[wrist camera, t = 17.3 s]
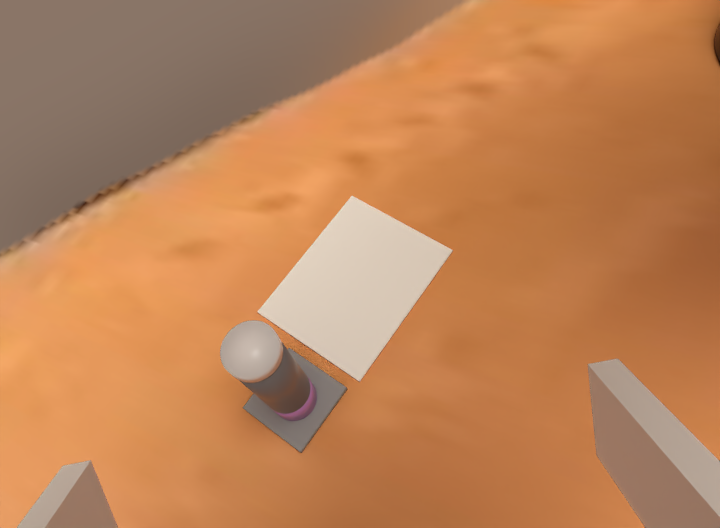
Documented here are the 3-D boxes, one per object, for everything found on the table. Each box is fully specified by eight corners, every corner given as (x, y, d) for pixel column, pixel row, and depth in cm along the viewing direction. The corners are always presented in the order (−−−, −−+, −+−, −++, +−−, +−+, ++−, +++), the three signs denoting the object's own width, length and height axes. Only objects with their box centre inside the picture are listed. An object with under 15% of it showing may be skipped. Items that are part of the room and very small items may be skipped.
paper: (352, 196, 55) (351, 195, 54) (452, 251, 51) (452, 250, 50) (258, 312, 50) (257, 312, 50) (359, 382, 46) (359, 381, 46)
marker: (291, 366, 47) (246, 310, 37) (326, 391, 46) (291, 340, 35) (262, 404, 46) (208, 357, 36) (298, 431, 45) (252, 390, 34)
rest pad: (290, 349, 48) (289, 347, 48) (347, 388, 46) (346, 387, 46) (244, 409, 47) (242, 407, 46) (301, 453, 44) (300, 452, 44)
